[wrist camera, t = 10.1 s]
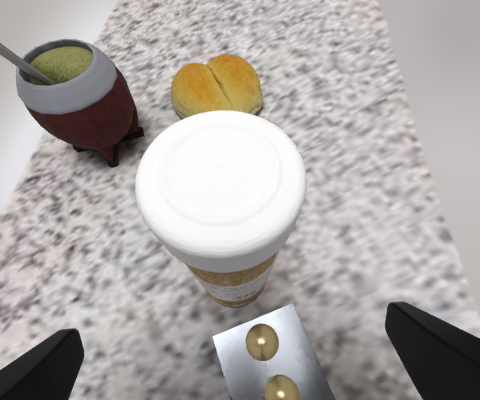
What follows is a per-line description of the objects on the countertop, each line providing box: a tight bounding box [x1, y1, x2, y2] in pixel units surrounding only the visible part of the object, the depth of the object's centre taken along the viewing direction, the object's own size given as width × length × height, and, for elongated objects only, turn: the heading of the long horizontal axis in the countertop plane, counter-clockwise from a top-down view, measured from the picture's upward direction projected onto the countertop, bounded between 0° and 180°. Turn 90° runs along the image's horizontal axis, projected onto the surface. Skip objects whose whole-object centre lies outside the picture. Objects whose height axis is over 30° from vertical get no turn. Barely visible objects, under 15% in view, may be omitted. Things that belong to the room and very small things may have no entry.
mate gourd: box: [0, 39, 144, 167], centre depth 17 cm, size 8×8×15 cm
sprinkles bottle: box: [135, 110, 307, 307], centre depth 12 cm, size 5×5×14 cm
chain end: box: [213, 303, 335, 400], centre depth 15 cm, size 5×5×3 cm
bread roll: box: [171, 54, 263, 119], centre depth 25 cm, size 8×9×4 cm
